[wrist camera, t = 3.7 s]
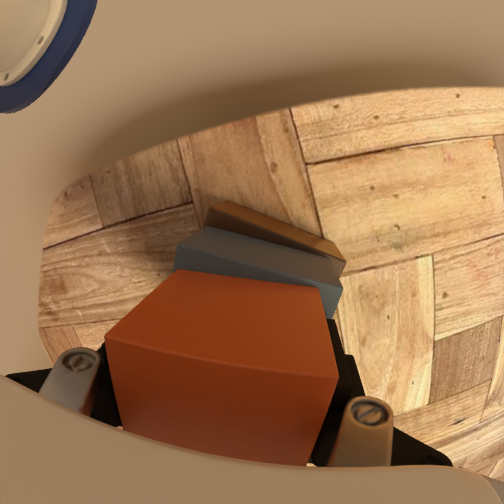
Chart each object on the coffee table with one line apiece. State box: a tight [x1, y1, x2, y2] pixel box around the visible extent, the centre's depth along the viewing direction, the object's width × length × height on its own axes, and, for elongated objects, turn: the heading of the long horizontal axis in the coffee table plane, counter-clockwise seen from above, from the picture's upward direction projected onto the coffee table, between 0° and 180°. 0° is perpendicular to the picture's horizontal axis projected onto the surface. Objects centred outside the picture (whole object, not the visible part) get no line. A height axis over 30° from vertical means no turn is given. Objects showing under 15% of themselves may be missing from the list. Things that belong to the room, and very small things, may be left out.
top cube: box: [104, 269, 339, 466], centre depth 9 cm, size 5×5×5 cm
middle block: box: [173, 226, 343, 319], centre depth 13 cm, size 6×6×4 cm
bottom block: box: [203, 201, 346, 278], centre depth 17 cm, size 7×7×4 cm
